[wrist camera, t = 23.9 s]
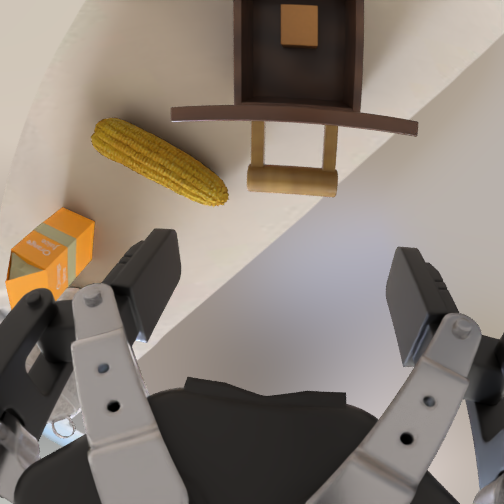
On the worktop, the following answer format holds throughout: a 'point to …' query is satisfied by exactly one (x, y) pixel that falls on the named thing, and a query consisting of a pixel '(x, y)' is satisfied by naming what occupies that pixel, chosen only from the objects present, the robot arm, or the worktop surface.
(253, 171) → the bread lid
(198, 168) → the food
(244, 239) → the worktop surface
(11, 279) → the orange juice
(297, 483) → the robot arm
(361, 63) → the bin
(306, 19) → the tan cuboid
